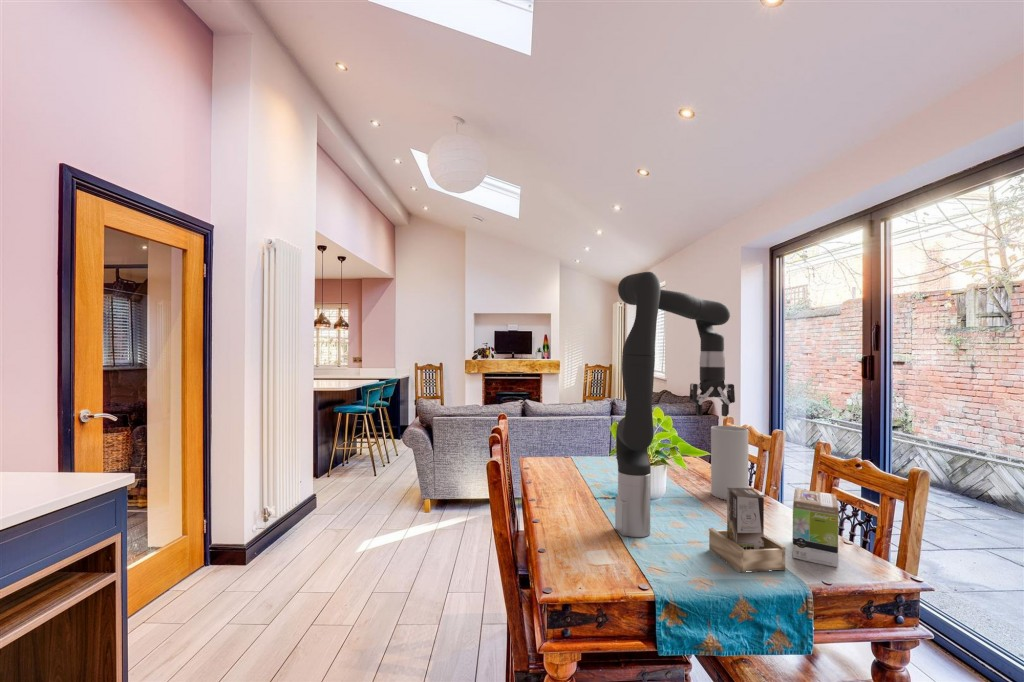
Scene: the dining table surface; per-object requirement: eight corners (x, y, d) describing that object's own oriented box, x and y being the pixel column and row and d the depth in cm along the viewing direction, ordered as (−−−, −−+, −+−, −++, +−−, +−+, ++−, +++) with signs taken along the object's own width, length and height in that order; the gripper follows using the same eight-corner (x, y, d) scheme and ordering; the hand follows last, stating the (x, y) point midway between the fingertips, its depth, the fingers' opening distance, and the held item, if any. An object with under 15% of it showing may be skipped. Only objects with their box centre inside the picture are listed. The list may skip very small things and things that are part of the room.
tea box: (839, 568, 116) (839, 507, 117) (791, 559, 121) (791, 500, 122) (836, 548, 129) (836, 492, 129) (793, 540, 134) (793, 487, 135)
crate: (739, 572, 113) (739, 548, 113) (708, 549, 127) (708, 528, 127) (785, 570, 114) (785, 547, 115) (749, 547, 128) (749, 526, 128)
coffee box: (765, 565, 116) (764, 497, 116) (736, 562, 117) (736, 496, 117) (752, 550, 125) (752, 487, 125) (726, 548, 126) (726, 486, 126)
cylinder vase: (715, 489, 184) (715, 424, 185) (751, 495, 177) (751, 428, 178) (707, 497, 174) (707, 428, 175) (744, 504, 167) (744, 432, 168)
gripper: (697, 365, 149) (697, 417, 149) (739, 366, 151) (739, 417, 151) (685, 365, 157) (685, 414, 156) (726, 365, 159) (726, 414, 158)
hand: (712, 416), depth 153 cm, fingers open, 8 cm apart
